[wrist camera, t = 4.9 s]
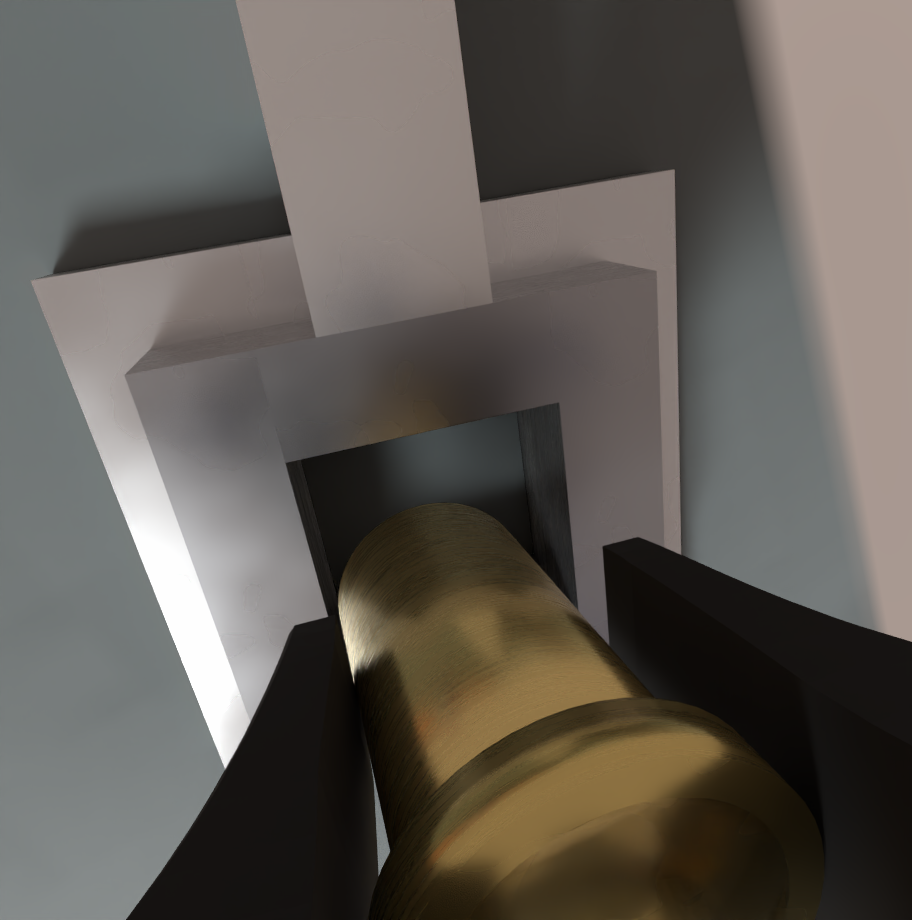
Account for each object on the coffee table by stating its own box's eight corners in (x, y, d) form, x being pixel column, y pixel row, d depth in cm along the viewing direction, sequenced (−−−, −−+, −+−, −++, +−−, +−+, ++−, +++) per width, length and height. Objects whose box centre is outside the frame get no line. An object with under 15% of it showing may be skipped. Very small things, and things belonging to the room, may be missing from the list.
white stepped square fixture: (623, -704, 9) (756, -1073, 7) (664, 629, 19) (727, 703, 16) (-339, -735, 8) (-691, -1251, 5) (233, 750, 17) (221, 856, 14)
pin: (534, 459, 12) (840, 694, 6) (551, 658, 14) (810, 1023, 7) (292, 511, 11) (335, 865, 5) (339, 720, 13) (422, 1205, 6)
